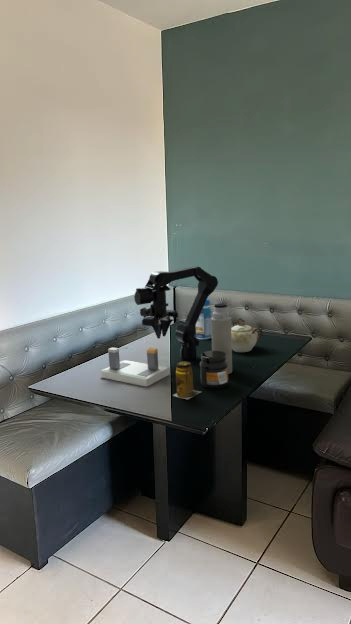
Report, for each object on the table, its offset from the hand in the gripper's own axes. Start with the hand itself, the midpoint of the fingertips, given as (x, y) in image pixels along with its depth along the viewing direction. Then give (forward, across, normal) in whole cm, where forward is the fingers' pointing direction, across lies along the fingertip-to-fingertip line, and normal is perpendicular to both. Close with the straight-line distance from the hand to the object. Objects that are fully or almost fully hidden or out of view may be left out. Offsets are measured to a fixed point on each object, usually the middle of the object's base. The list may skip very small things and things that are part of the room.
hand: (161, 337), depth 212 cm
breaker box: (+12, +18, -1) cm, 21 cm away
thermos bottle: (+12, -3, +28) cm, 30 cm away
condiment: (+12, +24, +28) cm, 39 cm away
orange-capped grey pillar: (+8, +15, +6) cm, 18 cm away
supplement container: (+12, +11, +32) cm, 36 cm away
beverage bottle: (+12, -44, -6) cm, 46 cm away
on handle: (+8, +21, -9) cm, 24 cm away
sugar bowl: (+12, -33, +22) cm, 41 cm away
